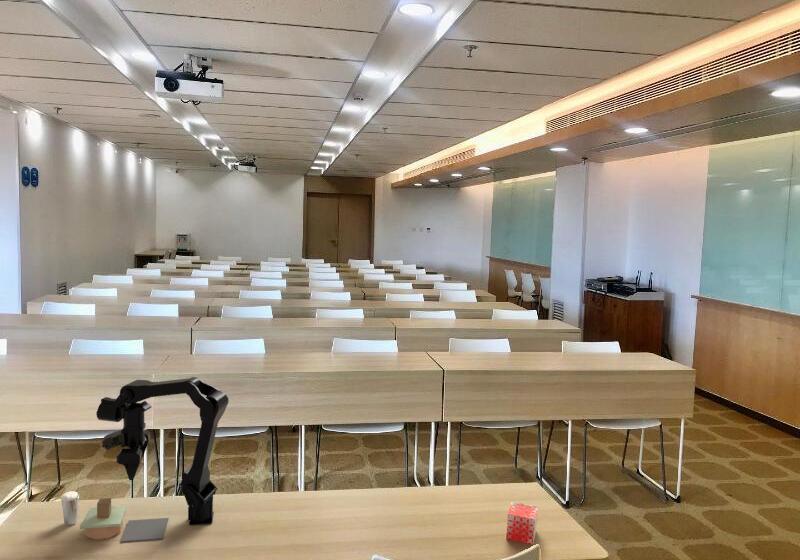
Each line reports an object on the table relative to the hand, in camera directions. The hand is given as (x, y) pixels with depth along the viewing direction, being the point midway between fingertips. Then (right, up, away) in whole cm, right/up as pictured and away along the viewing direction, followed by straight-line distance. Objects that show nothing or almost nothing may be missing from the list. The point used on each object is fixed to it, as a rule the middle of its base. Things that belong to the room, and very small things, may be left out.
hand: (134, 473), depth 183 cm
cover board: (-4, -9, -11) cm, 15 cm away
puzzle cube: (+116, -19, -1) cm, 118 cm away
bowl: (-4, -13, -10) cm, 17 cm away
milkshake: (-15, -12, -7) cm, 21 cm away
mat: (+7, -14, -9) cm, 18 cm away
